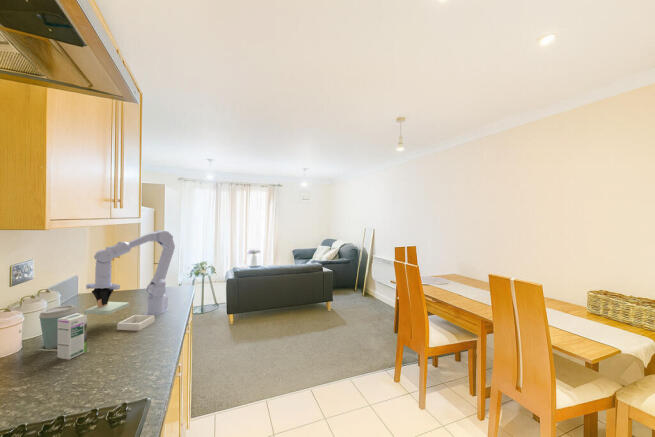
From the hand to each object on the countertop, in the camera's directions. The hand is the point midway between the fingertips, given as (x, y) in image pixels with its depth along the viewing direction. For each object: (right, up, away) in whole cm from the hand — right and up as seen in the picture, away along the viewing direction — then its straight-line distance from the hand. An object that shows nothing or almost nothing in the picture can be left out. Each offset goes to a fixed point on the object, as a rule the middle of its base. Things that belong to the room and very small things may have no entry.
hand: (102, 304), depth 121 cm
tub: (+16, -10, 0) cm, 19 cm away
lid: (+2, -2, 0) cm, 3 cm away
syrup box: (+11, -11, -25) cm, 29 cm away
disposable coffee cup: (-1, -10, -19) cm, 22 cm away
